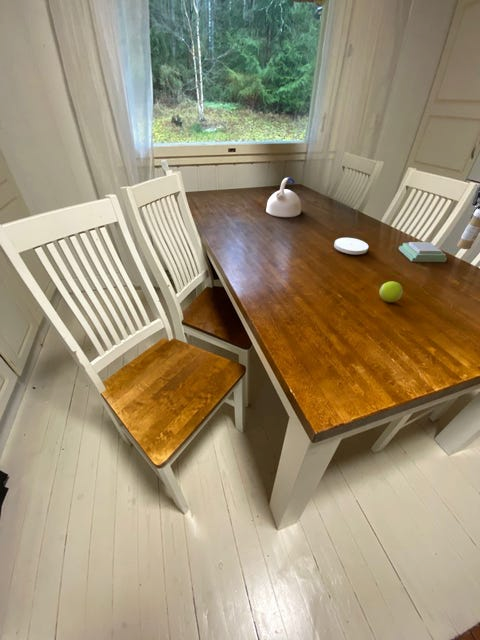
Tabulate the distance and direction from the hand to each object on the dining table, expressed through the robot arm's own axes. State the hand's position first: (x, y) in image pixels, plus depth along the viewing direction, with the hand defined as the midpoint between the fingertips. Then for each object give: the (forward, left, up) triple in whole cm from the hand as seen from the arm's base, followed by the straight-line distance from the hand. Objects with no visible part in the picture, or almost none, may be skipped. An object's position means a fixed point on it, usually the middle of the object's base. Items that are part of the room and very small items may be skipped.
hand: (478, 222), depth 95 cm
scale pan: (+6, -12, -16) cm, 21 cm away
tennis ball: (+35, +22, -19) cm, 45 cm away
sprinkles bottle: (0, 0, -10) cm, 10 cm away
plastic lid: (+35, -17, -19) cm, 43 cm away
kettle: (+58, -68, -19) cm, 91 cm away
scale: (+6, -12, -18) cm, 23 cm away
